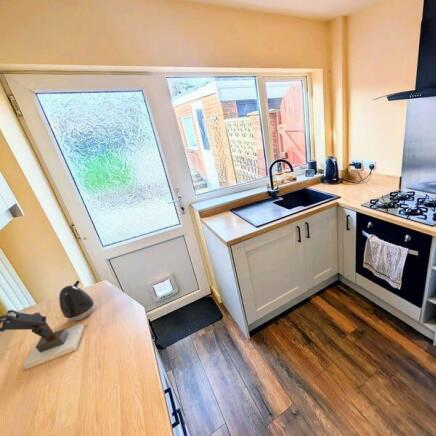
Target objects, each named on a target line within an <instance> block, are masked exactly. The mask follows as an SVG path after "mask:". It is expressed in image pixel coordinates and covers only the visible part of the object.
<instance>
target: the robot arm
mask: <svg viewBox="0 0 436 436" xmlns="http://www.w3.org/2000/svg"><path fill="white" fill-rule="evenodd" d="M33 314H34V313H26V312H19V311H16V310H14V309H10V310H7V312H6V313H5V314H3V315H0V325H1V326H0V332H1V333H2V332H6V331H17V330H19V331H21V330H22V331H23V330H26V331H27V330H31V332H32V333H33V334H35V335H37V336H39V337H40V338H41V337H42V338H47V336H48V329H47V328H46V323H47V315H41V314H40V315H41V316H40V315H33Z"/></svg>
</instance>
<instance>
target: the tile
mask: <svg viewBox="0 0 436 436" xmlns="http://www.w3.org/2000/svg"><path fill="white" fill-rule="evenodd" d="M64 329H65V330H66V331H67V333H68V336H67V338H66V341H65V343H64V344H63V345H60V346H57V347H55V348H52V349H49V350H46V351H43V352H41V353H40V352H39V351H38V350H37V348H36V345H37V344H38V342H39V340H40V338H37V340H36V341H35V343H34V345H33V347H32V348H31V351H30V352H29V354H28V356H27V358H26V359H25V361H24V363H23V364H22V366H23V367H24V369H25V370H29V369H32V368H34V367H36V366H39V365H41V364H44V363H46V362H49V361H52V360H54V359H57V358H59V357H62V356H65V355H68V354H69V353H72V352H75V351H76V350H77V348H78V345H79V342H80V339H81V337H82V334H83V332H84V329H85V326H84V324H83V323H79V324H76V325H73V326H71V327H67V328H64Z"/></svg>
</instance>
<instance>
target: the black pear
mask: <svg viewBox="0 0 436 436" xmlns="http://www.w3.org/2000/svg"><path fill="white" fill-rule="evenodd" d="M79 284H80V280H76V281H75V283H74V284H73V285H72V284H71V285H66V286H64V287H63V288H62V289H61V290H60V291H59V294H58V302H59V308H60V311H61V314H62V315H63V317H64V318H66V319H67V320H70V321H81V320H83V319H85V318H86V317H88V316H89V315H91V313H92V312H93V310H94V306H95V305H94V304H95V302H94V300H93V298H92V297H91V296H90V295H89V294H88V293H87V292H86V291H85V290H83V289H82V288H81V287H79Z"/></svg>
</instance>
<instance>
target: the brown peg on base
mask: <svg viewBox="0 0 436 436" xmlns="http://www.w3.org/2000/svg"><path fill="white" fill-rule="evenodd" d="M32 314H33V315H40V316H42V315H41V313H40V312H39V311H38V312H34V313H32ZM46 328H47V329H48V336H47V338H42V337H41V336H40V338H39V339H40V340H39V342H38V344H37V345H36V348H37V350H38V351H39V352H40V353H41V352H43V351H46V350H49V349H52V348H55V347H57V346H60V345H63V344H64V343H65V341H66V338H67V336H68V333H67V331H66V330H65V329H66V328H63V329H59V330H56V331H53V330H52V328H51V327H50V326H49V324H48V323H47V322H46Z"/></svg>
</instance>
